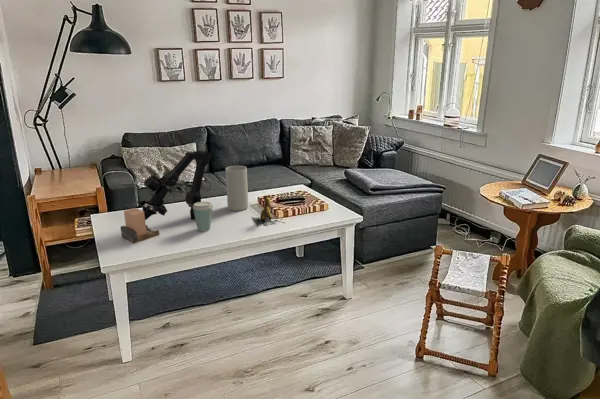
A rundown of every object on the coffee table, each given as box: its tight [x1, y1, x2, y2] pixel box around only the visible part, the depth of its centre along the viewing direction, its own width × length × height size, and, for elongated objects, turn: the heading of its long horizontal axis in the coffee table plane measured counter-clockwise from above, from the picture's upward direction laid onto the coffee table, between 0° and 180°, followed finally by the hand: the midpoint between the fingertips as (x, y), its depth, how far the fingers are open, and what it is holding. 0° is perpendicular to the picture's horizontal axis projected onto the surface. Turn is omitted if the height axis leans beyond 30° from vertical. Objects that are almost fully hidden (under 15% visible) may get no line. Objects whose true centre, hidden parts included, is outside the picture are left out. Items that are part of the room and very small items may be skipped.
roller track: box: [120, 224, 160, 244], centre depth 233 cm, size 14×12×6 cm
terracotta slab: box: [123, 207, 147, 237], centre depth 230 cm, size 6×9×12 cm, turn 49°
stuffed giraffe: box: [251, 194, 286, 228], centre depth 254 cm, size 16×18×16 cm
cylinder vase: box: [225, 165, 249, 212], centre depth 271 cm, size 12×12×25 cm
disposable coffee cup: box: [193, 201, 214, 232], centre depth 240 cm, size 11×11×15 cm
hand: (142, 221), depth 233 cm, fingers closed
